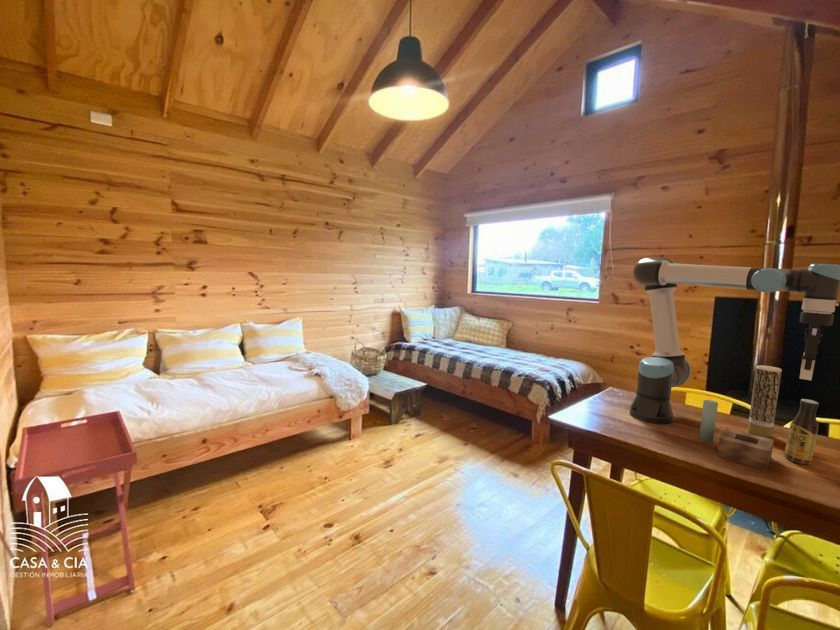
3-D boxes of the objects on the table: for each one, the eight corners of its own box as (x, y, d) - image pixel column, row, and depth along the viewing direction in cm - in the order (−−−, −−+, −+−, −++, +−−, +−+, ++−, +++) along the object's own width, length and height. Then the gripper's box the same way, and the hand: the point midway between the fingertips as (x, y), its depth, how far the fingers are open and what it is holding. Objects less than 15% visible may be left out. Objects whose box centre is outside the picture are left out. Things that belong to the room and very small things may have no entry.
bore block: (717, 455, 124) (719, 437, 123) (724, 444, 132) (726, 427, 131) (766, 470, 115) (769, 451, 115) (771, 457, 124) (773, 439, 123)
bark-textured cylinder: (776, 439, 137) (786, 371, 134) (754, 437, 139) (764, 369, 136) (763, 431, 144) (773, 366, 141) (743, 429, 145) (752, 364, 142)
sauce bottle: (778, 455, 125) (787, 396, 122) (796, 455, 125) (805, 396, 123) (800, 466, 118) (809, 404, 116) (818, 465, 119) (828, 404, 116)
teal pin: (697, 439, 135) (702, 401, 133) (700, 436, 138) (705, 399, 136) (711, 443, 132) (716, 404, 131) (714, 440, 135) (719, 402, 133)
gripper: (836, 316, 113) (822, 386, 117) (832, 310, 131) (821, 371, 134) (800, 313, 119) (788, 379, 122) (802, 308, 136) (791, 366, 139)
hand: (805, 375), depth 128 cm, fingers open, 13 cm apart
